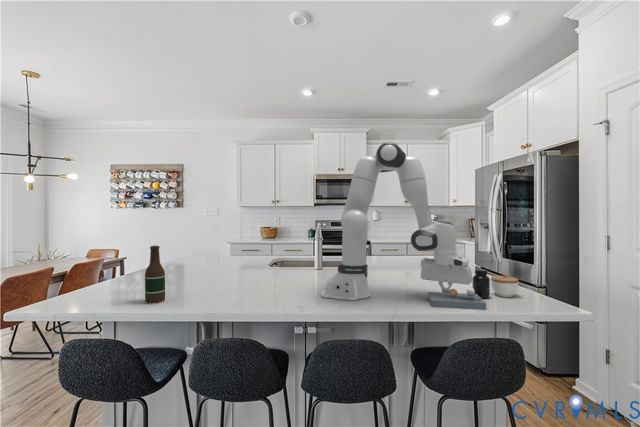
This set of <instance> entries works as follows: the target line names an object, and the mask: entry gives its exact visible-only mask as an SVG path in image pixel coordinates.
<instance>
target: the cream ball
mask: <svg viewBox="0 0 640 427" xmlns="http://www.w3.org/2000/svg"><path fill="white" fill-rule="evenodd" d="M474 293H475V290H474V289H473V287H467V288H466V294H469V295H473V294H474Z"/></svg>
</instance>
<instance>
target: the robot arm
mask: <svg viewBox="0 0 640 427" xmlns="http://www.w3.org/2000/svg"><path fill="white" fill-rule="evenodd" d="M375 153H376V154H375V155H372V156H370V155H364V156H362V157H360V158H359V159H358V160H357V164H356V165H355V168H354V171H353V174H352V178H351V182H350V186H349V190H348V192H347V198H346V200H345V205H344V208H343V211H342V214H341V218H340V223H341V227H342V238H341V239H342V240H341V241H342V243H341V262H340V263H338V264H337V272H336V273H335V274H333V275H332V276H331V277H330V278H329V279H327V281H326V284H325V289H323V290H321V291H320V297H321V298H325V299H335V300H343V301H356V300H362V299H363V300H364V299H367V298H369V297H371V292H370V289H369V283H368V282H369V281H368V275H369V268H368V267H369V266H368V264H367V243H368V232H369V231H368V230H369V229H368V227H369V223H368V222H369V219H368V216H367V215H368V212H369V209H370V206H371V203H372V200H373V197H374V193H375V188H376V185H377V181H378V177H379V174H380V173H389V172H393V171H395V172H396V173H397V176H398V181H399V188H400V190H401V193H402V196H403V198H404V199H405V200H406V201H407V202H408V203H409V204H410V205H411V207H412V208H413V210H414V212H415V216H416V217H415V218H416V220H417V221H416V222H417V226H418V229H417V230H415V231H414V232H413V233H412V234H411V236H410V243H411V246H412V247H413V249H415V250H417V251H420V252H427V251H430V250H431V251H432V250H433V258H427V257H424V258H423V259H421V260H420V266H421V269H420V278H421V279H422V280H424V281H432V282H438V285H439V287H440V288H441V292H443V293H449V291H450V290H451V289H452V286H453V284H460V285H471V283H473V275H472V274H473V273H472V270H471V267H470V266H469V263H470V261H469V259H467V258H464V257H463V256H460V255H457V254H458V253H457V252H458V251H457V249H456V246H457V232H456V227H455V225H454V224H453V223H452V222H450V221H445V220H436V221H435V222H434V223H433V219H432V215H431V210H430V206H429V199H428V187H427V180H426V174H425V171H424V167H423V165H422V162H421V160H420V158H418V157H417V156H414V155H408V156H407V154H406V153H405V152H404V150H402V148H401V147H400V146H399V145H398V144H397V143H395V142H393V141H387V142H384V143H382V144H380V146H378V147H377V150H376V152H375ZM444 283H447V285H448V286H447V287H445V286H444V285H443V284H444Z"/></svg>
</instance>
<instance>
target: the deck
mask: <svg viewBox="0 0 640 427" xmlns="http://www.w3.org/2000/svg"><path fill="white" fill-rule="evenodd" d="M427 299H428V301H429V304H430V305H431V307H432V308H450V309H466V310H467V309H470V310H473V309H474V310H487V302H486V301H485V299H482V298H480V297H479V296H478V295H477V294H473V295H469V294H467V292H466V293H462V292H461V293H460V292H457V296H455V297H452V296H451V295H450V294H449V293H444V292H442V291H441V292H438V291H427Z"/></svg>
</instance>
